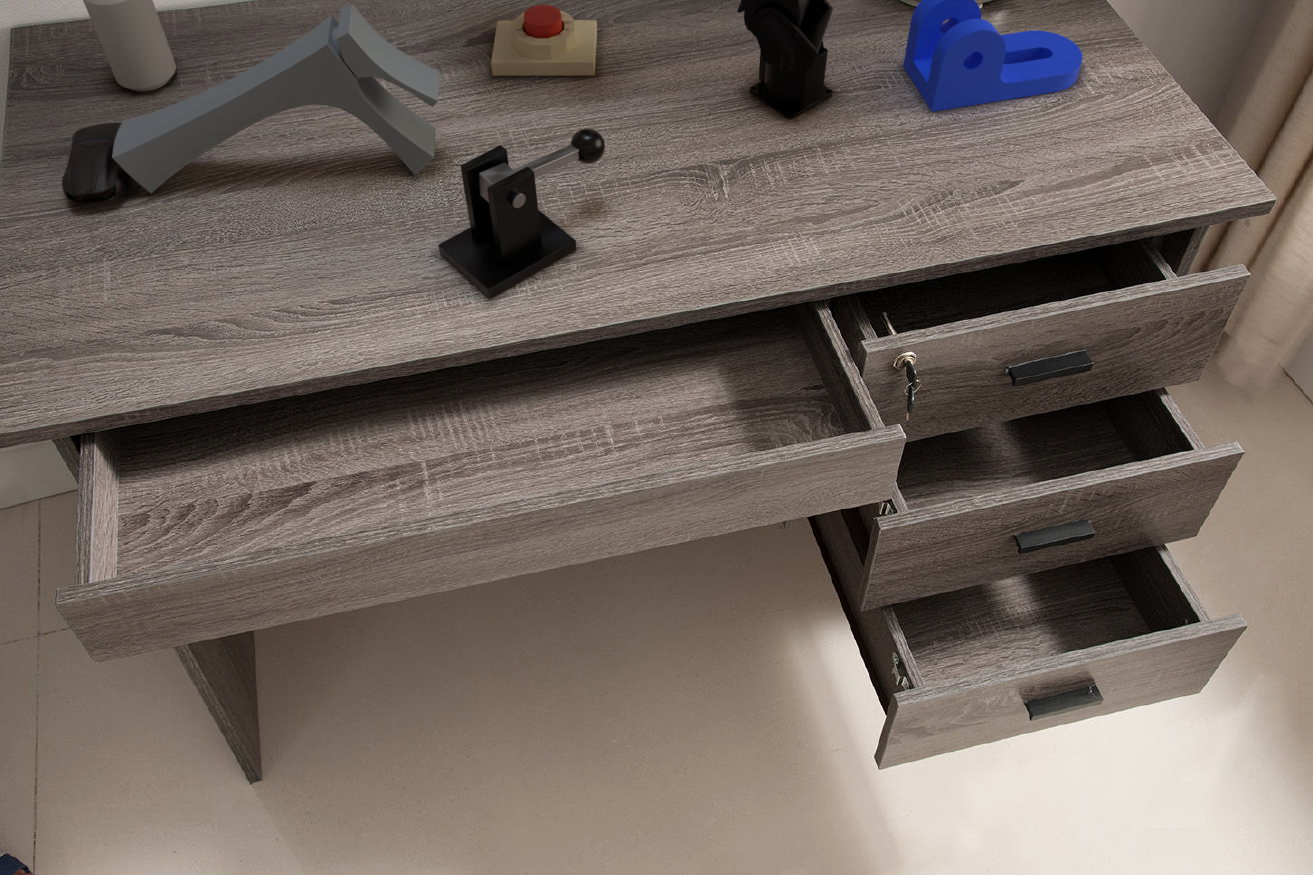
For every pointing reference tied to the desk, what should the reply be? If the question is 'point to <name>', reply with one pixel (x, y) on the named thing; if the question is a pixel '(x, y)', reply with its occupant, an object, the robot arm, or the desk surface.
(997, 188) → the desk surface
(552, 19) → the button
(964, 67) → the bracket
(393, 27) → the desk surface
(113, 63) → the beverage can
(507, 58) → the button box
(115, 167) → the black computer mouse
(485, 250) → the lever switch
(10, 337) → the desk surface
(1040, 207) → the desk surface
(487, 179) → the lever handle
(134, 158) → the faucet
